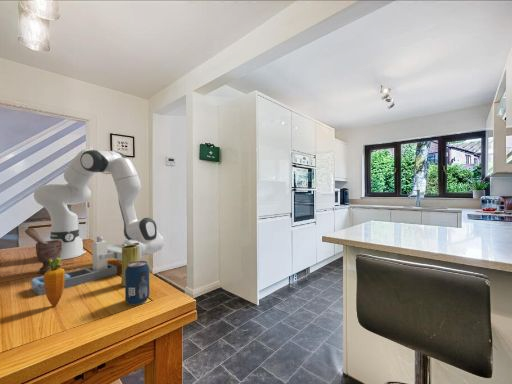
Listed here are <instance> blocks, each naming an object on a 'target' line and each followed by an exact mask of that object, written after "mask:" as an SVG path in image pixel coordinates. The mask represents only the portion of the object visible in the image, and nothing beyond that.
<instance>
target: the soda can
mask: <svg viewBox="0 0 512 384" xmlns="http://www.w3.org/2000/svg"><path fill="white" fill-rule="evenodd" d="M124 289H125V290H124V291H125V299H124V300H125V302H126V303H127V304H128V305H131V306H137V305H141V304H143V303H145V302H146V301H147V300H148V299H149V297H150V266H149V264H148V261H144V260H138V261H136V262H132V263H129V264H128V265H127V268H126V270H125V287H124Z"/></svg>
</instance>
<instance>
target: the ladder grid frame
mask: <svg viewBox="0 0 512 384" xmlns="http://www.w3.org/2000/svg"><path fill="white" fill-rule="evenodd" d="M117 267H118V266H117V265H113V264H110V263H108V268H107V269H103V270H99V271H95V272H94V271H93V266H88V267H84V268H82V269H77V270H72V271H68V272H65V284H64V289H63V290H65V289H68V288H71V287H76V286H78V285H82V284H86V283H88V282H89V283H90V282H93V281H95V280H99V279H103V278H106V277H110V276H113V275H117V274H118V268H117ZM30 286H31V289H30V290H31V291H32V292H34V293H35V294H37V295H38V296H39V297H40V296H42V295H46V292H45V287H44V275H43V276H37V277H34V278H32V279H31V282H30Z"/></svg>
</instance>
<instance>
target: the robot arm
mask: <svg viewBox="0 0 512 384" xmlns="http://www.w3.org/2000/svg"><path fill="white" fill-rule="evenodd" d="M69 163H70V164H69V165H68V166H67V168H66V169H65V171H64V173H63V178H64V181H66V182H67V183H66V184H57V183H56V184H55V183H54V184H53V183H51V184H45V185H39V186H38V187H36V188H35V190H34V191H33V198H34V200H35V202H36V203H37V204H39V205H40V206H42V207H43V208H44V209H46V211H47V212H48V214H49V216H50V222H51V231H50V234H49V241H51V240H61V242H62V246H61V247H62V251H61V255H60V259H62V260H61V261H63V260H68V259H72V258H77V257H80V256H82V255H83V254H86V253H87V250H84V248H83V247H84V246H83V244H84V243H83V239H82V238H81V237H80V229H79V217H78V215H77V213H76V212H73V211H71V210H70V209H69V207H68V205H69V206H70V205H82V204H84V203H87V202H89V201H90V200H91V197H92V191H91V189H90V188H89V186H88V184H89V182H90V180H91V179H92V178H93V176H94V174H95V173H109V174H111V176H112V179H113V182H114V185H115V189H116V191H117V196H118V203H119V208H120V212H121V217H122V221H123V234H124V237H125V238H126V240H125V241H123V243H121V244H118V243H116V244H115V243H114V244H107V254H101V255H100V259H107V260H108V259H115V260H117V261H120V262H122V247H123V246H127V245H137V246H138V260H141V258H142V256H148V255H152V254H155V253H157V252H159V251H161V250H162V249H163V247H164V246H165V238H164V237H163V235H161V233H160V232H159V230H158V228H157V223H156V221H154V219H152V218H150V217H143V218H141V219H138V218H137V213H136V210H135V205H134V204H135V200H136V199H137V197H138V195H140V192H141V190H142V183H141V179H140V177H139V175H138V171H137V169H136V168H135V165H134V164H133V162H132V160H130V159H129V158H128V157H127V156H126V155H125V154H124V153H122V152H119V151H112V150H107V149H106V150H105V149H103V150H99V149H96V150H95V149H87V148H86V149H82V150H80V151H79V152H78V153H77V154H76V155H75V156H74V158H73V159H72V160H71V161H70V162H69Z"/></svg>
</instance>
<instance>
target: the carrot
mask: <svg viewBox="0 0 512 384" xmlns="http://www.w3.org/2000/svg"><path fill="white" fill-rule="evenodd" d="M61 261H63V260H62V259H60V258H57V259H56V260H55V262H54V265H53V261H52V259H49V262H50V266H51V270H48V271H47V272H46V273H45V274H43V276H44V287H45V292H46V294H45V295H46V298H47V300H48V302H49V303H50V304H51V305H52V306H53V307H57V305H58V303H59V302H60V300H61V298H62V295H63V292H64V290H65V289H64V284H65V273H66V271H65V269H64V268H62V267H61V266H62V264H61V263H60V262H61ZM59 266H60V268H58V267H59Z"/></svg>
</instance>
